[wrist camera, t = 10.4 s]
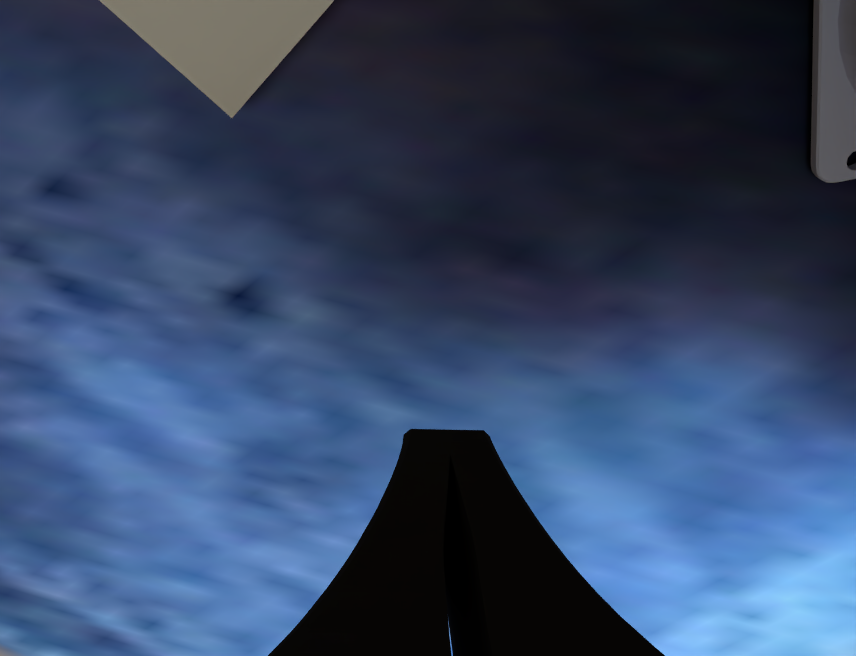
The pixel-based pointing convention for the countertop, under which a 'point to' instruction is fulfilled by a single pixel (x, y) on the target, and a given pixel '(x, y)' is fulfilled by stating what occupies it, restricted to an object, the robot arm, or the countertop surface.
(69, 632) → the countertop surface
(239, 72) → the panel
